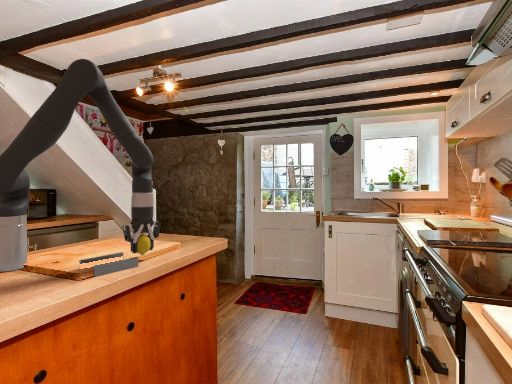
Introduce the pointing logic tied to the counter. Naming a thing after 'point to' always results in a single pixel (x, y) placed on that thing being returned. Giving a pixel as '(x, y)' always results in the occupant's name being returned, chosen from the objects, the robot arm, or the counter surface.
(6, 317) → the counter surface
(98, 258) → the guide channel
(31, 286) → the counter surface
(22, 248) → the robot arm
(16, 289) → the counter surface
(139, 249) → the lemon
